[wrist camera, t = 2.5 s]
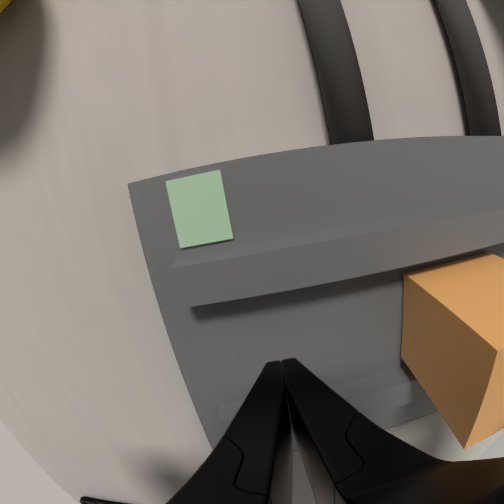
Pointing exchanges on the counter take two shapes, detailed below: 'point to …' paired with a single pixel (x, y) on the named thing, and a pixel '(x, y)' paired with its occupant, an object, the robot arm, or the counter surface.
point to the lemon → (4, 4)
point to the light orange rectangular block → (458, 341)
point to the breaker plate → (312, 262)
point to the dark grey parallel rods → (350, 80)
